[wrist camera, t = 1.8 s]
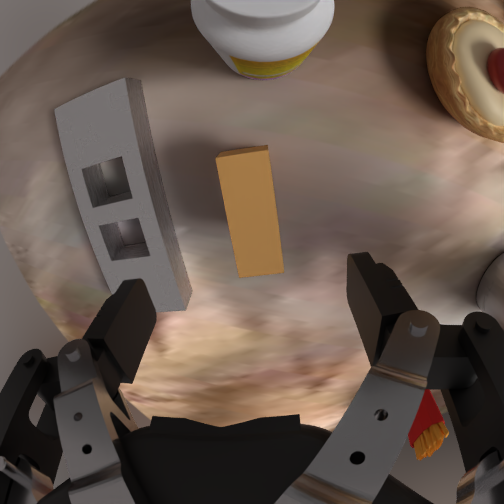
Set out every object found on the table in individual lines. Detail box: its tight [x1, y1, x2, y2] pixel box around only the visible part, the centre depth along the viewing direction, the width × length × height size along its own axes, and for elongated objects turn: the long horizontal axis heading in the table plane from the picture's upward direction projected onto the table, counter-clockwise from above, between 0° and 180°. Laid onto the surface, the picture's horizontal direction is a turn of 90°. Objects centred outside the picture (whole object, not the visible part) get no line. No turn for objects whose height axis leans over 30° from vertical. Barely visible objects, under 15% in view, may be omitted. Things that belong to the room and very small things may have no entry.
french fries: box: [408, 389, 449, 460], centre depth 31 cm, size 8×4×12 cm, turn 4°
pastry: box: [426, 7, 504, 143], centre depth 13 cm, size 12×12×9 cm
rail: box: [54, 78, 192, 312], centre depth 22 cm, size 7×20×3 cm, turn 9°
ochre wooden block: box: [215, 145, 284, 278], centre depth 20 cm, size 3×8×6 cm, turn 9°
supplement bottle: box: [191, 0, 334, 80], centre depth 12 cm, size 7×7×13 cm
